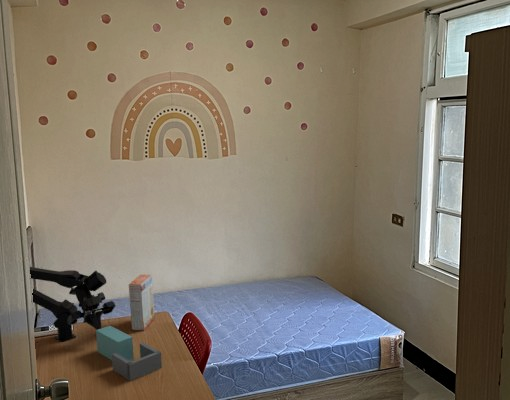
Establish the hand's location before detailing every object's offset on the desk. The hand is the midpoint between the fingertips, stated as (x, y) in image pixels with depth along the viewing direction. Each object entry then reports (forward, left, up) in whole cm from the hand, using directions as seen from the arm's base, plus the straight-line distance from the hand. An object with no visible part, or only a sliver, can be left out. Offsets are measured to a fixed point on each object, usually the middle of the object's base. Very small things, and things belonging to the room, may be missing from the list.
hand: (100, 330), depth 198 cm
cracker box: (-7, +24, -7) cm, 26 cm away
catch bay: (+26, 0, -7) cm, 27 cm away
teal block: (+11, 0, -7) cm, 13 cm away
